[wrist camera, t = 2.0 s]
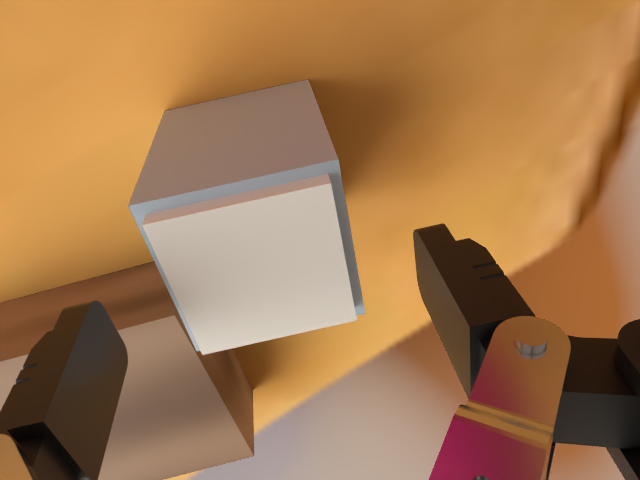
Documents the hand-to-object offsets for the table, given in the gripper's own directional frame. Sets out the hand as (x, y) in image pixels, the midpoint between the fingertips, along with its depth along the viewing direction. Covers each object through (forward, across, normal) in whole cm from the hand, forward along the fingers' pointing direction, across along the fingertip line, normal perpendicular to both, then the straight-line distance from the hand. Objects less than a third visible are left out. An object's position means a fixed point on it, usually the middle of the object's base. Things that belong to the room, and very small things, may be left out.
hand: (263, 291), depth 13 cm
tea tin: (+7, 0, 0) cm, 7 cm away
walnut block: (+8, +8, +8) cm, 13 cm away
